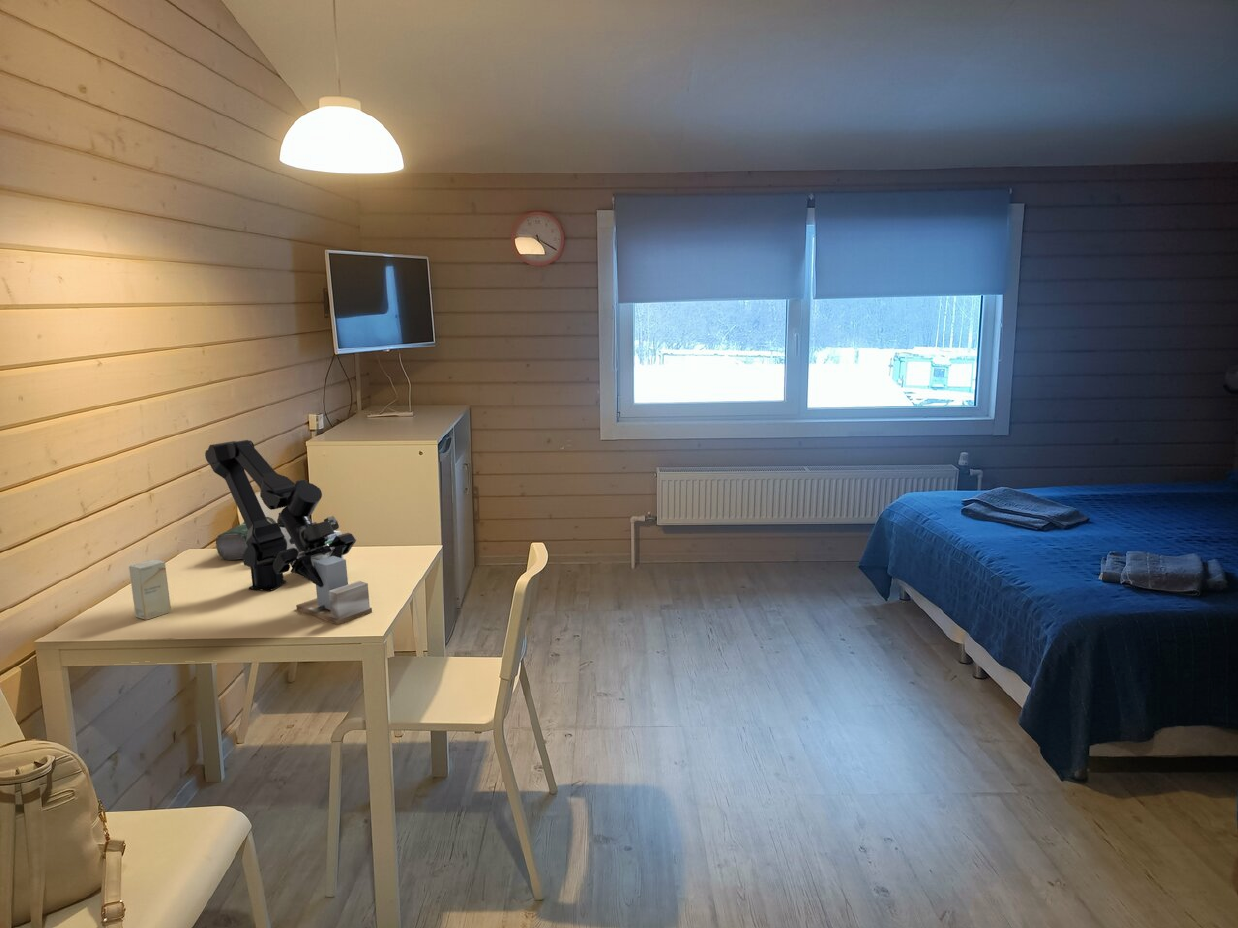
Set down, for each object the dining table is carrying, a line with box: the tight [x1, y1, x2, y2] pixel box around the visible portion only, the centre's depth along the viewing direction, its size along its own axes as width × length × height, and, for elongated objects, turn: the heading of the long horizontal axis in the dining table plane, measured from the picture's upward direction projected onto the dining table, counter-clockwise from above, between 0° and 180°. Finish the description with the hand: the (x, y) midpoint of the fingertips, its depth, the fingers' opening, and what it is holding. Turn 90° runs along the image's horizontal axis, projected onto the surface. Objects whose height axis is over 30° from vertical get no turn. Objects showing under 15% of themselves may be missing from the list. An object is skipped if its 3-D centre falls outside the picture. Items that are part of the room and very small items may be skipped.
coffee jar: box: [215, 516, 277, 561], centre depth 243 cm, size 10×8×19 cm
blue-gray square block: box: [314, 556, 349, 610], centre depth 195 cm, size 6×6×10 cm
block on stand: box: [295, 580, 373, 626], centre depth 196 cm, size 16×9×7 cm, turn 52°
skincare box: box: [128, 558, 172, 621], centre depth 196 cm, size 6×4×12 cm
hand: (332, 582), depth 195 cm, fingers closed on blue-gray square block, 5 cm apart
